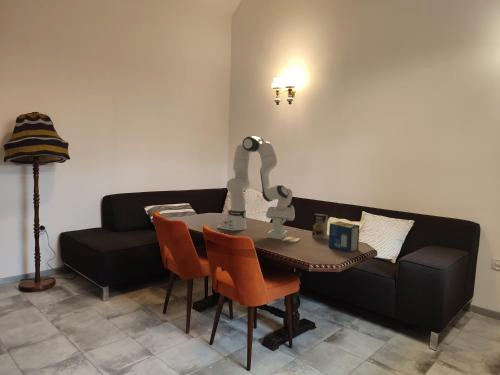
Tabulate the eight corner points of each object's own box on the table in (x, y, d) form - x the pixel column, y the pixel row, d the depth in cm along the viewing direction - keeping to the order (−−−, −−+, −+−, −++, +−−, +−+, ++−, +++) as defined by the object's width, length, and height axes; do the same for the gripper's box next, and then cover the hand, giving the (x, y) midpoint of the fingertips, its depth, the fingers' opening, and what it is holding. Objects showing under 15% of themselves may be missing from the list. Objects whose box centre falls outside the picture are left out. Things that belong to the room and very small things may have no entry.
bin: (266, 237, 251) (267, 232, 251) (272, 234, 262) (273, 229, 262) (282, 239, 247) (282, 234, 246) (287, 235, 258) (287, 231, 257)
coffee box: (311, 237, 256) (312, 214, 254) (314, 235, 262) (315, 213, 260) (324, 238, 252) (325, 215, 250) (327, 237, 258) (328, 214, 256)
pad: (281, 240, 243) (281, 239, 243) (286, 237, 252) (286, 236, 252) (296, 242, 239) (296, 241, 239) (300, 239, 248) (300, 238, 248)
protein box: (337, 244, 237) (338, 221, 236) (358, 250, 226) (360, 225, 224) (327, 247, 230) (329, 223, 229) (348, 252, 219) (350, 227, 217)
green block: (273, 237, 253) (273, 218, 252) (275, 235, 257) (276, 217, 256) (279, 237, 251) (280, 219, 250) (281, 236, 256) (282, 218, 254)
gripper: (267, 203, 263) (262, 219, 255) (295, 206, 255) (290, 222, 247) (269, 209, 267) (264, 224, 259) (296, 211, 259) (292, 227, 251)
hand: (277, 223), depth 253 cm, fingers closed on green block, 4 cm apart
